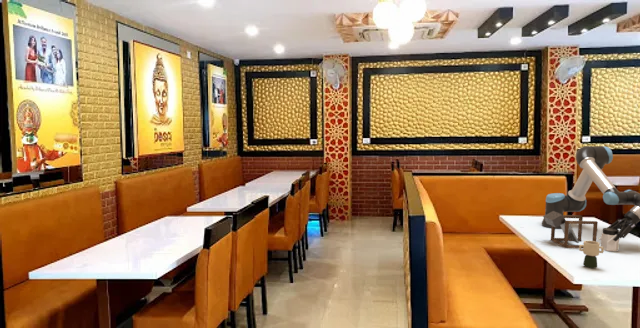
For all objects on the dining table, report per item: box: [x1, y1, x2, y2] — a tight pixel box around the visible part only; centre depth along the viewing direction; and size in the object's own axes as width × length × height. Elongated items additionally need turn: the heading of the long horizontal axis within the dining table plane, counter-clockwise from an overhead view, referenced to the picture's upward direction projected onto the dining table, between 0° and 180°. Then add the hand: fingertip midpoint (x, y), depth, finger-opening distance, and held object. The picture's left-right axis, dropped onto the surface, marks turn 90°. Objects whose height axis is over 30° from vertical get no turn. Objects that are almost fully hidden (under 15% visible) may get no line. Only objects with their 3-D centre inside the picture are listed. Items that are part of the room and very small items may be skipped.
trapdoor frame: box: [550, 214, 599, 249], centre depth 284 cm, size 18×18×16 cm
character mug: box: [578, 240, 605, 269], centre depth 239 cm, size 11×7×13 cm, turn 68°
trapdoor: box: [542, 211, 580, 244], centre depth 284 cm, size 14×19×8 cm
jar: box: [600, 227, 620, 252], centre depth 273 cm, size 9×8×12 cm
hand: (604, 242), depth 273 cm, fingers closed on jar, 8 cm apart
